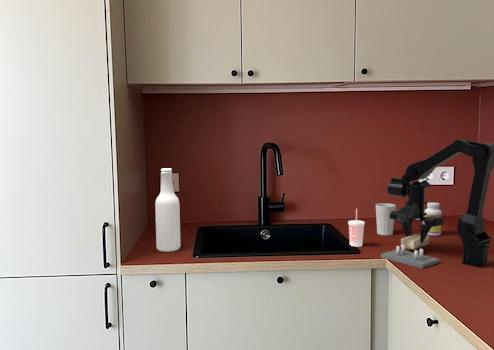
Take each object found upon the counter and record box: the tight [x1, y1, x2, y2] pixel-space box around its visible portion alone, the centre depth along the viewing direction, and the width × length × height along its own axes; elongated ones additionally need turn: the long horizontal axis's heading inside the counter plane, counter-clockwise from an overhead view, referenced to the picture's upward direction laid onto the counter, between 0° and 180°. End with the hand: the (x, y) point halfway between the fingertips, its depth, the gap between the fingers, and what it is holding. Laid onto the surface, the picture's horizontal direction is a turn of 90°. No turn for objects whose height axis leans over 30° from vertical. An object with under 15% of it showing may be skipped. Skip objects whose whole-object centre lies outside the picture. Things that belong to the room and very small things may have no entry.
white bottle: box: [154, 167, 182, 253], centre depth 180 cm, size 9×9×30 cm
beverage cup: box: [347, 208, 366, 248], centre depth 184 cm, size 6×6×14 cm
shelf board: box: [400, 233, 430, 250], centre depth 177 cm, size 5×11×3 cm, turn 133°
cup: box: [375, 202, 397, 236], centre depth 202 cm, size 8×8×12 cm
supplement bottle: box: [424, 202, 443, 237], centre depth 200 cm, size 7×7×13 cm
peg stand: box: [380, 245, 440, 269], centre depth 165 cm, size 16×10×4 cm, turn 37°
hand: (415, 241), depth 177 cm, fingers closed on shelf board, 5 cm apart
